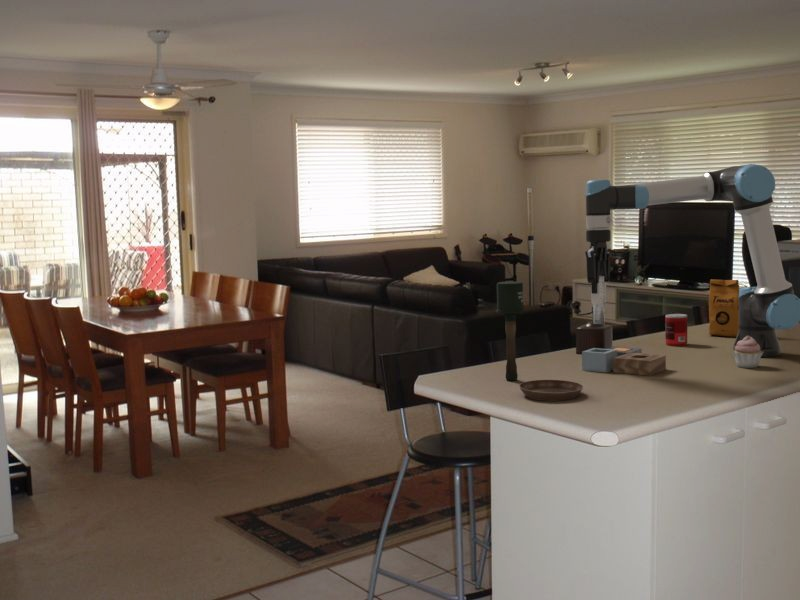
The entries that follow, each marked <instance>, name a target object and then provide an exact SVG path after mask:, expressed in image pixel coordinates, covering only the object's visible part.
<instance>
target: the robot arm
mask: <svg viewBox="0 0 800 600" xmlns="http://www.w3.org/2000/svg"><path fill="white" fill-rule="evenodd" d="M775 189H776V179H775V176H774V174H773V173H772V171H770V169H768V168H767V167H766V166H764V165H762V164H761V165H760V164H755V163H748V164H744V165H743V164H742V165H736V166H734V165H733V166H729V167H726V168H723V169H719V170H716V171H709V172H704V173H702V175H699V176H693V177H692V176H691V177H684V178H675V179H674V178H673V179H668V180H667V179H665V180H660V181H659V180H658V181H651V182H649V181H648V182H641V183H640V182H639V183H634V184H626V185H625V184H624V185H611V180H610V179H590V180H588V181H587V182H586V185H585V213H586V214H585V228H586V229H587V230H586V231H585V234H586V235H585V240H586V242H588V243H589V250H585V258H586V277H587V281H586V282H587V283H588V284H591V285H590V286H591V287H590V288H591V290H590V292H591V294H590V295H591V297H590V298H591V299H590V300H591V301H590V302H591V304H592V305H593V304H600V283H599V276H604V304H605V303H607V283H609V282H610V278H611V276H610V275H611V254H612V248H608V245H607V242H610V241H611V239H612V238H611V236H612V235H611V230H610V228H611V221H612V218H611V211H612V210H613V211H615V210H643V209H646V208H647V206H653V205H662V204H671V203H680V202H686V201H687V202H689V201H697V200H704V201H706V202H715V201H718V202H719V201H721V202H732V203H733V208H734V212H736V213H738V214H739V215H740V216H741V220H742V225H743V228H744V229H743V230H744V232H745V237H746V241H747V246H748V250H749V255H750V258H751V263H752V267H753V271H754V275H755V280H756V283H757V285H756V286H746V287H741V288H739V297H738V300H739V331H738V334H737V337H735V341H734V343H733V347H732V351H734V350H735V346H736V345H737V342H738V341H740V340H743V338H745V337H746V336H750V337H752V338H753V339H754V340H755V341H756V342H757V343H758V344H759V346H760V351H762V352H763V354H762V356H761V358H769V357H778V356H781V354H782V353H781V352H782V351H781V350H782V348H781V345H780V342H779V339H778V336H777V333H776V330H789V329H792V328H794V327H795V326H797V325H798V324H799V323H800V298H799V297H798V296H797V295H795V292H794V287H793V284H792V283H791V282H790V281H788V280H787V279H786V275H785V271H784V267H783V263H782V258H781V255H780V250H779V245H778V242H777V241H778V240H777V236H776V232H775V227H774V224H773V218H772V214H771V210H770V209H771V206H772V205H773V203H774V200H773V196H772V195H773V194H774V191H775Z"/></svg>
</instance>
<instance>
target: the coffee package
mask: <svg viewBox="0 0 800 600" xmlns="http://www.w3.org/2000/svg"><path fill="white" fill-rule="evenodd" d="M739 291H740V282H739V279H712V278H711V279H710V281H709V297H708V315H709V316H708V320H709V325H708V335H710V336H711V335H712V336H715V337H716V336H717V337H727V338H733V337H734V338H736V337H737V334H738V331H739V300H738V297H739Z"/></svg>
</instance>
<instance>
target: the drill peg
mask: <svg viewBox="0 0 800 600" xmlns="http://www.w3.org/2000/svg"><path fill="white" fill-rule="evenodd" d="M599 283H600V304H592V307H593V314H592V320H593V324H605V319H606V318H605V312H606V311H605V308H606V307H605V303H604V276H599Z"/></svg>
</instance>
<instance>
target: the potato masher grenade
mask: <svg viewBox="0 0 800 600" xmlns="http://www.w3.org/2000/svg"><path fill="white" fill-rule="evenodd" d="M523 285H524V284H523V282H521V281H499V282H497V283H496V309H495V312H496V313H498V314H503V316H504V324H505V325H504V327H505V335H506V338H505V339H506V364H505V379H506V381H509V382H514V381H515V382H516V381H517V379H518V365H517V361H516V360H517V359H516V333H517V324H516V322H517V315H518V314H522V313H525V308H524V286H523Z"/></svg>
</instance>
